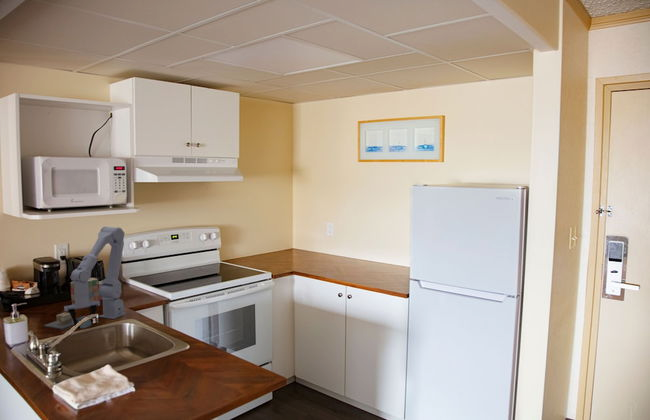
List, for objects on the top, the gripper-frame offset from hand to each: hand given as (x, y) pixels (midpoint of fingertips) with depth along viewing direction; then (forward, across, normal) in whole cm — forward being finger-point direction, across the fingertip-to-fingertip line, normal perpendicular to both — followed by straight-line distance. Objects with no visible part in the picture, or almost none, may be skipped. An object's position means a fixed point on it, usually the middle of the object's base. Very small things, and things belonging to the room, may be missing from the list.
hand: (83, 323), depth 215 cm
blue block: (+2, 0, 0) cm, 2 cm away
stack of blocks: (+2, -13, -42) cm, 44 cm away
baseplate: (+1, +6, -9) cm, 11 cm away
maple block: (+1, +6, -9) cm, 11 cm away
